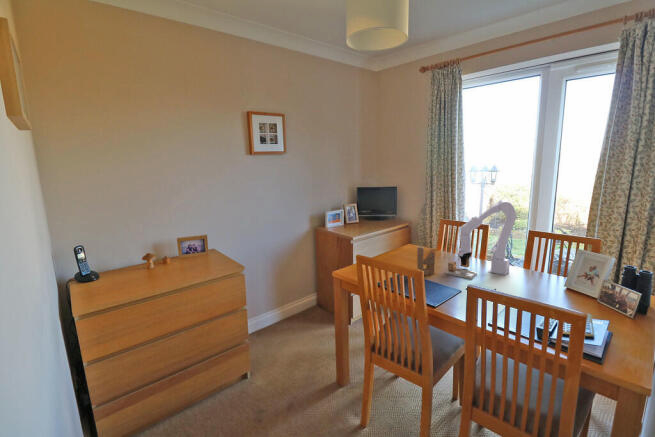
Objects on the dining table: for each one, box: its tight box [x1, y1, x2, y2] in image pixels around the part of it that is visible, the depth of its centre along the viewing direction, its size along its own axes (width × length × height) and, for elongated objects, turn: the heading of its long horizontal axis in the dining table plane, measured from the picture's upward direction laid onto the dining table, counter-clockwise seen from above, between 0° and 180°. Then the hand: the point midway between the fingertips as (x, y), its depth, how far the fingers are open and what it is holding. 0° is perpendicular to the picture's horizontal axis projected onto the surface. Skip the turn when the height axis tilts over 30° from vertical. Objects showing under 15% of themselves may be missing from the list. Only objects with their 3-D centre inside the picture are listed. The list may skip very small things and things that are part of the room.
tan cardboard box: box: [459, 257, 471, 268], centre depth 194 cm, size 3×4×6 cm
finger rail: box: [446, 260, 478, 280], centre depth 186 cm, size 15×8×6 cm, turn 45°
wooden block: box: [416, 246, 436, 277], centre depth 188 cm, size 4×11×18 cm, turn 106°
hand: (464, 264), depth 194 cm, fingers closed on tan cardboard box, 3 cm apart
